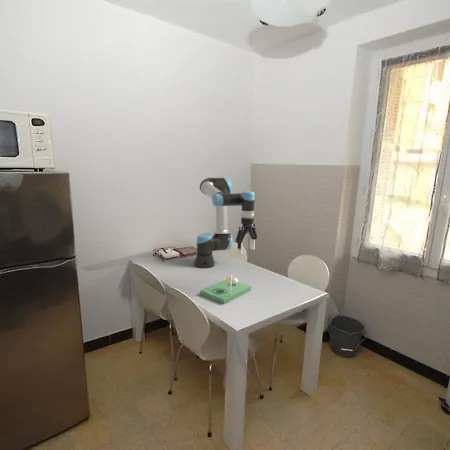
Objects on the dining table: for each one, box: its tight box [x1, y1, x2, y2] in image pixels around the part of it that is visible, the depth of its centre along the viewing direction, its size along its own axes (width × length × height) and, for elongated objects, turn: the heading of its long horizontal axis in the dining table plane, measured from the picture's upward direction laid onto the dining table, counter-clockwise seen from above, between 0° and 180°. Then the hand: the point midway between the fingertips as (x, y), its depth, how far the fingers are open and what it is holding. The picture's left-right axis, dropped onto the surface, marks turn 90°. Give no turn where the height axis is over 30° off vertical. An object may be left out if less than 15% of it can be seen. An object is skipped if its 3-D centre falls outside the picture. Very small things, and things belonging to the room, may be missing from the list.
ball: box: [232, 277, 239, 285], centre depth 178 cm, size 4×4×4 cm
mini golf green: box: [199, 275, 252, 305], centre depth 172 cm, size 25×18×14 cm
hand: (246, 251), depth 182 cm, fingers open, 13 cm apart
